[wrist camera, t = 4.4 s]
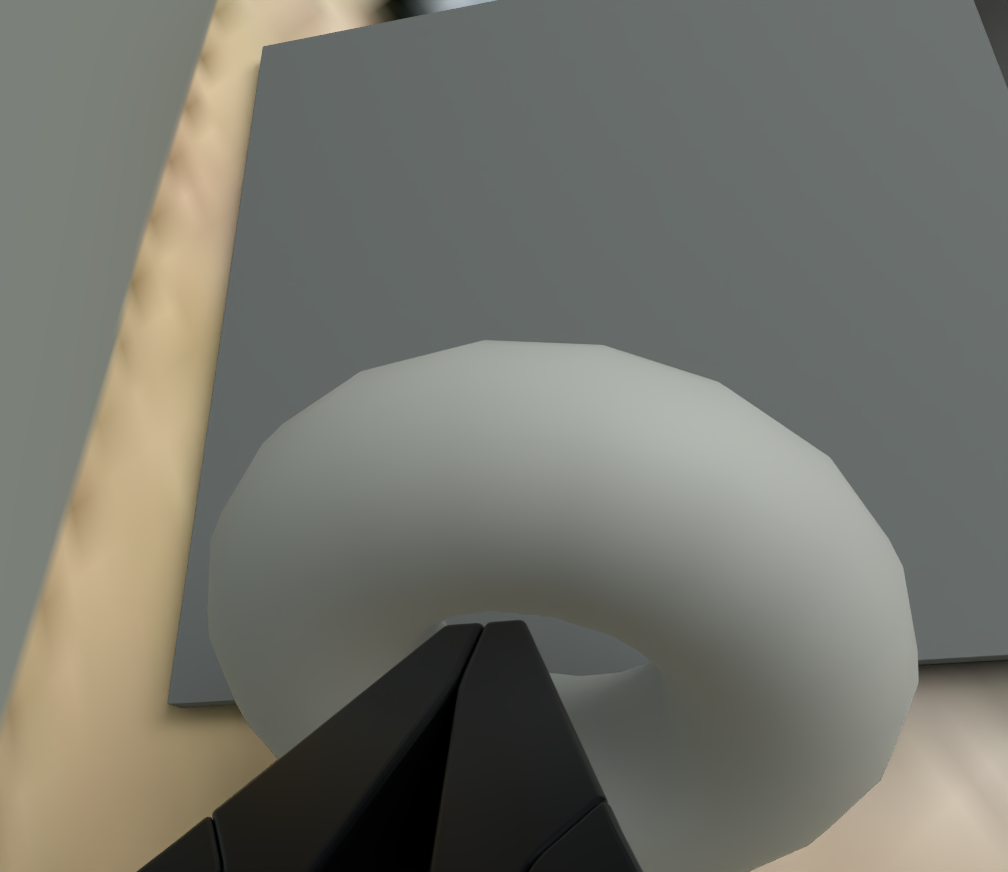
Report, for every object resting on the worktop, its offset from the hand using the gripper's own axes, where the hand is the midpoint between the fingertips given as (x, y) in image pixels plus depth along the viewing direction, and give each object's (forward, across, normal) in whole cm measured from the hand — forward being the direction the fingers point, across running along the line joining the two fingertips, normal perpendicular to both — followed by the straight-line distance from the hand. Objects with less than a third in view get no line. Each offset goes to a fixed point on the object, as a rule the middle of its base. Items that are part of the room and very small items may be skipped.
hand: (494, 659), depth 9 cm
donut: (+5, 0, +7) cm, 8 cm away
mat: (+14, -1, -2) cm, 14 cm away
